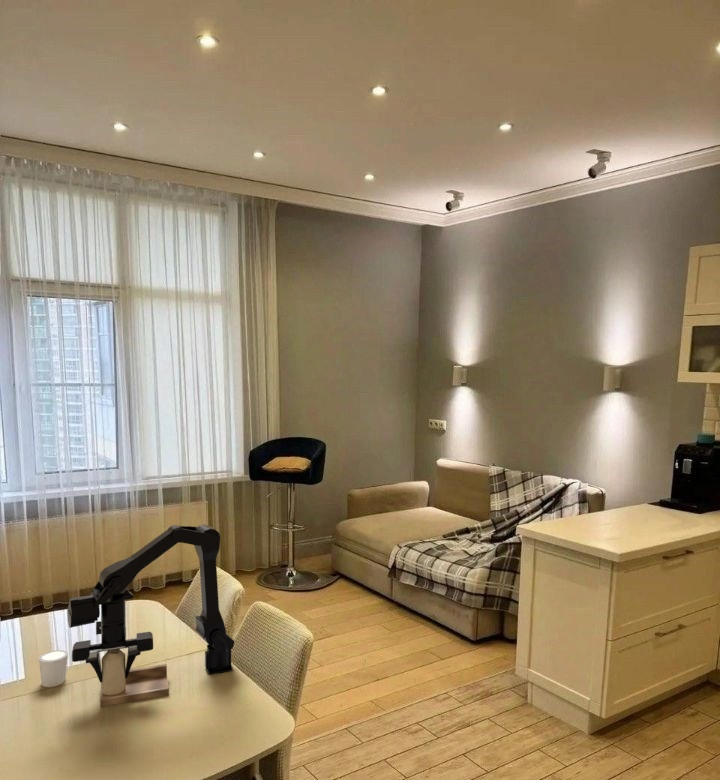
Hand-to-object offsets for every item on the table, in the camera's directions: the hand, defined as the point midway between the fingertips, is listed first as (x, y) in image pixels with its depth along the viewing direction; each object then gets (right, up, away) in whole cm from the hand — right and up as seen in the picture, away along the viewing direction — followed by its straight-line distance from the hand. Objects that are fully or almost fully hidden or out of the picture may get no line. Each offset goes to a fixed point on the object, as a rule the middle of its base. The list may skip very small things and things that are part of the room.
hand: (114, 679), depth 153 cm
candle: (0, -3, 0) cm, 3 cm away
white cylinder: (-19, -4, +8) cm, 21 cm away
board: (+4, -4, +2) cm, 6 cm away
